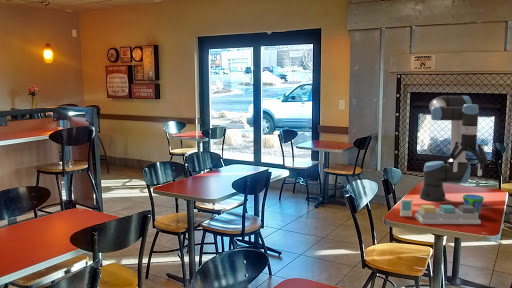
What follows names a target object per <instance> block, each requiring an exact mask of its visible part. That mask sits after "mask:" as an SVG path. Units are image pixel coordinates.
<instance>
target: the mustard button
mask: <svg viewBox="0 0 512 288" xmlns="http://www.w3.org/2000/svg"><path fill="white" fill-rule="evenodd" d="M420 209H421V211H422V212H423V213H436V209H437V208H436V207H435V206H434V205H433V204H421V205H420Z"/></svg>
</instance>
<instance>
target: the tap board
mask: <svg viewBox="0 0 512 288" xmlns="http://www.w3.org/2000/svg"><path fill="white" fill-rule="evenodd" d="M479 216H480V214H478V213H477V212H475V213H462V212H460V211H459V208H455V213H442V212H441V211H440V208H436V213H423V212H422V211H421V208H417V210H416V213H414V218H415V219H416V220H417V221H418V222H419V223H420V224H422V225H423V224H424V225H425V224H426V225H429V224H430V225H431V224H432V225H481V224H482V223H481V222H482V220H481V219H480V218H479Z"/></svg>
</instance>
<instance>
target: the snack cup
mask: <svg viewBox="0 0 512 288" xmlns="http://www.w3.org/2000/svg"><path fill="white" fill-rule="evenodd" d="M484 198H485V197H484V196H482V195H479V194H463V195H462V199H463V200H462V201H463V205H471V206H472V207H474V208H475V212H477V213H478V214H479V215H481V209H482V207H483V206H482V205H483V202H484V200H485V199H484Z"/></svg>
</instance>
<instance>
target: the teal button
mask: <svg viewBox="0 0 512 288" xmlns="http://www.w3.org/2000/svg"><path fill="white" fill-rule="evenodd" d="M439 209H440V211H441V212H442V213H455V209H456V207H455V206H454V205H452V204H439Z"/></svg>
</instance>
